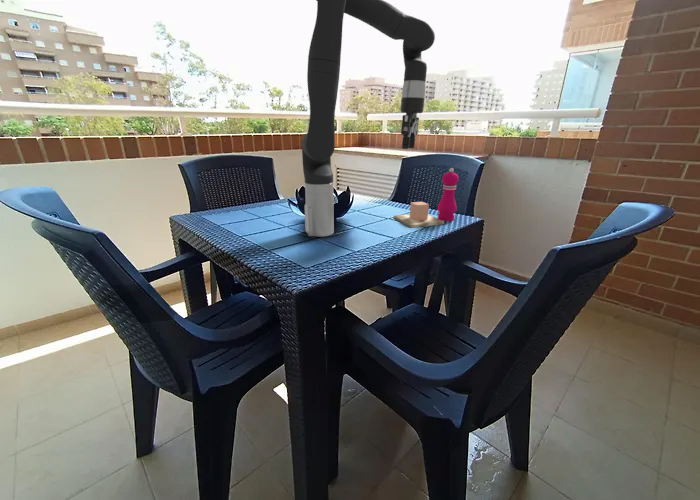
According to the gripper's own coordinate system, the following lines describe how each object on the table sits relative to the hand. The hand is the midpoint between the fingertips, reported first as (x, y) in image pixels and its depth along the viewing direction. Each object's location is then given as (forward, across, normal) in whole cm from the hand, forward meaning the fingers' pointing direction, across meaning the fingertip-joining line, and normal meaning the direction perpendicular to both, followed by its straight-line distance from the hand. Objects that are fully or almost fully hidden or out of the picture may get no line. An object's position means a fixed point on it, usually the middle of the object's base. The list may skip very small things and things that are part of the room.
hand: (408, 148), depth 111 cm
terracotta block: (+26, +6, -5) cm, 27 cm away
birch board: (+27, +7, -5) cm, 28 cm away
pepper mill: (+27, +14, -15) cm, 34 cm away
